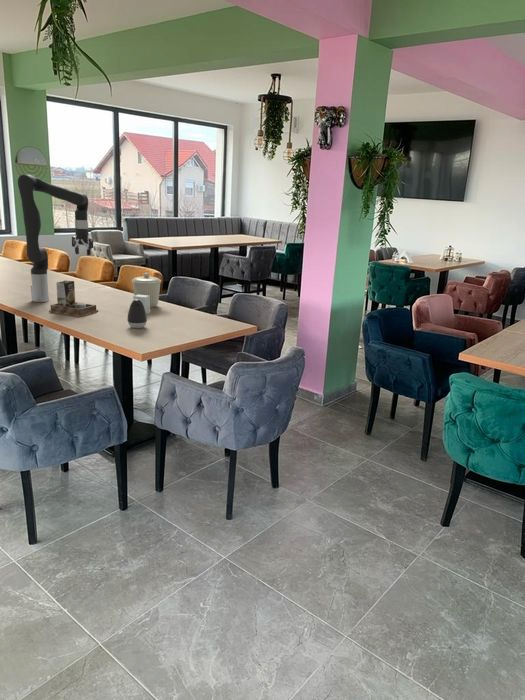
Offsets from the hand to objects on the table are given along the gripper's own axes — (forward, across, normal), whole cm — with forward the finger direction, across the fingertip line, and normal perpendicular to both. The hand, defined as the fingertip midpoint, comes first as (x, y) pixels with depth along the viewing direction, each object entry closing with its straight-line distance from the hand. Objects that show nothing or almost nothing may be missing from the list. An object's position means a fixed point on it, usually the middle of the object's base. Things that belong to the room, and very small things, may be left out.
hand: (83, 254), depth 326 cm
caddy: (+30, +10, -22) cm, 39 cm away
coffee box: (+29, +5, -22) cm, 37 cm away
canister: (+30, +36, +14) cm, 49 cm away
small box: (+30, +44, -3) cm, 54 cm away
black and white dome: (+30, +61, -32) cm, 75 cm away
